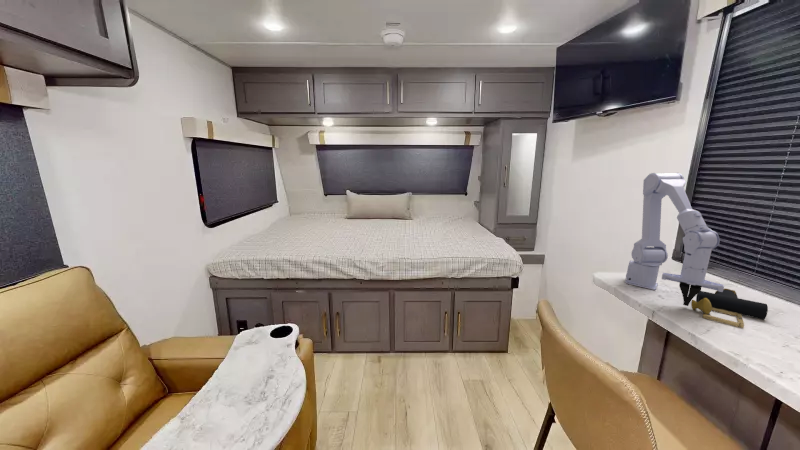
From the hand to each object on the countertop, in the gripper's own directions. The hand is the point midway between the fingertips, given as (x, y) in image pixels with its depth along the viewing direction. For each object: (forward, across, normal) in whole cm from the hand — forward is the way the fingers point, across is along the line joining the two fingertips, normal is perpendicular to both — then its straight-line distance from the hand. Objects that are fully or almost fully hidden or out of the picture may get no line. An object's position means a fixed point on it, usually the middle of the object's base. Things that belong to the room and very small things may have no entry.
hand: (685, 304), depth 99 cm
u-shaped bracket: (+1, +8, 0) cm, 8 cm away
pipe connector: (+2, +10, +11) cm, 15 cm away
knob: (+1, +4, 0) cm, 4 cm away
